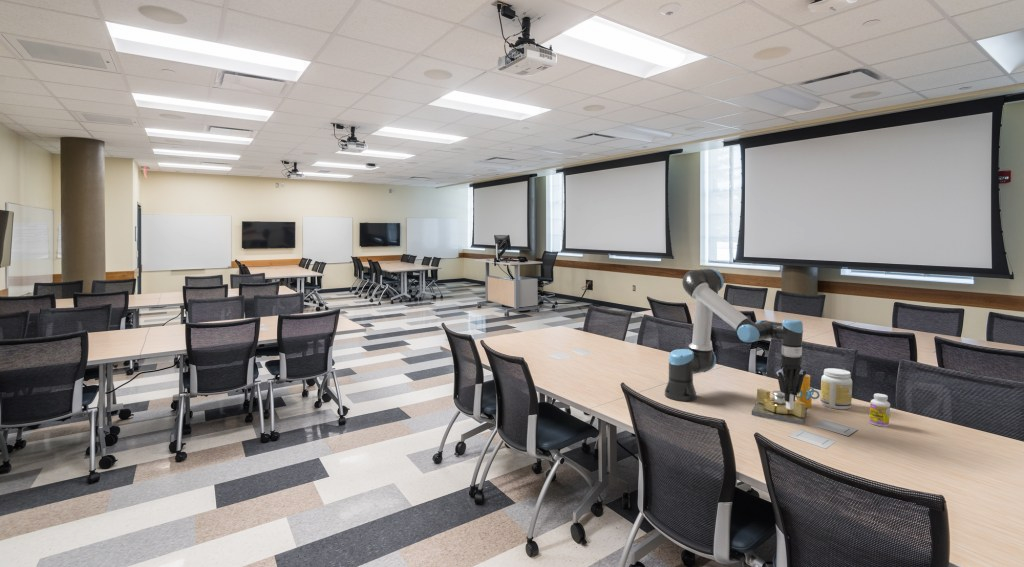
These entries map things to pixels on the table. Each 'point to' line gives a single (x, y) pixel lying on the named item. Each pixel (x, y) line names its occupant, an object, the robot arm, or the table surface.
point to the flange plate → (765, 413)
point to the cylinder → (806, 392)
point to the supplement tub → (836, 388)
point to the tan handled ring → (770, 405)
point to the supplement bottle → (879, 410)
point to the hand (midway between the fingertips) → (789, 408)
